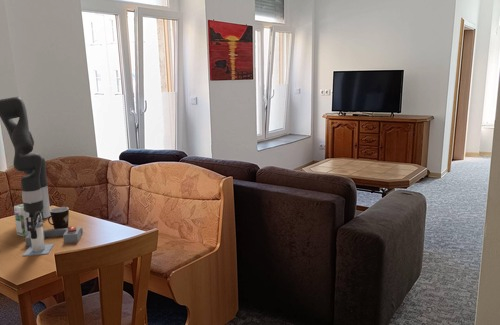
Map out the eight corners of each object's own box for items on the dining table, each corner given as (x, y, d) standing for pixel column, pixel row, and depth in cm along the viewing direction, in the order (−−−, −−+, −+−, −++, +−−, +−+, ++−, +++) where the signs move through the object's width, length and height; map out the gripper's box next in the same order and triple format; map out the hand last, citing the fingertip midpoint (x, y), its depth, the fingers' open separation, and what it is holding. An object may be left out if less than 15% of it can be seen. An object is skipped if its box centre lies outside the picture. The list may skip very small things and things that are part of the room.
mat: (30, 246, 176) (30, 245, 176) (54, 244, 179) (54, 243, 178) (22, 256, 167) (22, 255, 167) (47, 254, 169) (47, 253, 169)
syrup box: (16, 234, 190) (12, 206, 187) (28, 230, 195) (24, 203, 192) (23, 237, 187) (20, 208, 184) (35, 232, 193) (31, 204, 190)
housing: (34, 236, 188) (33, 228, 187) (82, 232, 192) (82, 225, 192) (26, 246, 177) (25, 237, 176) (77, 241, 181) (77, 233, 181)
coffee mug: (65, 224, 204) (63, 205, 202) (73, 227, 199) (71, 209, 197) (42, 230, 195) (40, 211, 193) (50, 234, 190) (48, 215, 188)
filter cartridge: (34, 247, 175) (30, 222, 172) (47, 246, 176) (44, 221, 173) (30, 252, 170) (26, 226, 167) (43, 251, 171) (40, 225, 168)
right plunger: (69, 235, 186) (68, 226, 185) (77, 234, 186) (76, 226, 186) (67, 238, 182) (66, 229, 181) (75, 237, 183) (75, 228, 182)
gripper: (28, 195, 174) (33, 229, 177) (17, 205, 160) (22, 242, 164) (47, 194, 175) (51, 228, 179) (37, 204, 162) (41, 240, 165)
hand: (37, 234), depth 171 cm, fingers open, 8 cm apart
